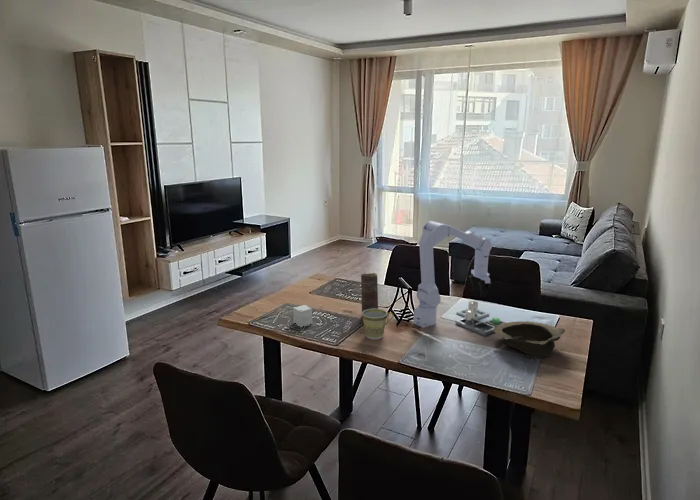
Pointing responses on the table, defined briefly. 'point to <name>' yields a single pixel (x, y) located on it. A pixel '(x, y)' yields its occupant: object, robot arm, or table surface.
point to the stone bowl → (530, 337)
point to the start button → (496, 321)
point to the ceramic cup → (375, 322)
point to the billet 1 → (473, 306)
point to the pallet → (477, 326)
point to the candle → (369, 291)
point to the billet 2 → (469, 317)
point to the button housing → (492, 323)
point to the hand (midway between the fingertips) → (479, 293)
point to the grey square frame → (475, 317)
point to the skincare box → (302, 315)
